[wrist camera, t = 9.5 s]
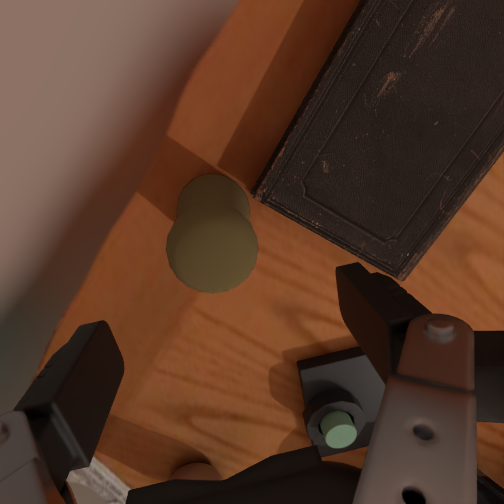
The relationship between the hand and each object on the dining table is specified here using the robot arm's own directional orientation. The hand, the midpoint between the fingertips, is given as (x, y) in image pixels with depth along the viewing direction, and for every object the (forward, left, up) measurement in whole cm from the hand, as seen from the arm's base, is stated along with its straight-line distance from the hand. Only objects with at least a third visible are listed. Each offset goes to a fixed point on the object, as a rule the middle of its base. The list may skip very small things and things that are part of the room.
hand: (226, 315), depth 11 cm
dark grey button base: (+11, -24, -17) cm, 32 cm away
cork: (-1, 0, -17) cm, 17 cm away
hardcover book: (+16, +4, -17) cm, 24 cm away
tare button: (+6, -24, -15) cm, 29 cm away
